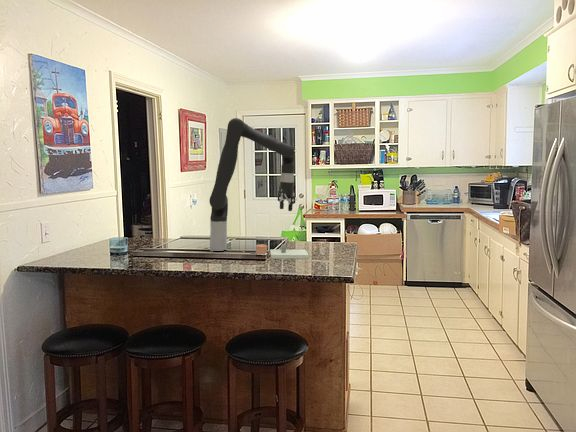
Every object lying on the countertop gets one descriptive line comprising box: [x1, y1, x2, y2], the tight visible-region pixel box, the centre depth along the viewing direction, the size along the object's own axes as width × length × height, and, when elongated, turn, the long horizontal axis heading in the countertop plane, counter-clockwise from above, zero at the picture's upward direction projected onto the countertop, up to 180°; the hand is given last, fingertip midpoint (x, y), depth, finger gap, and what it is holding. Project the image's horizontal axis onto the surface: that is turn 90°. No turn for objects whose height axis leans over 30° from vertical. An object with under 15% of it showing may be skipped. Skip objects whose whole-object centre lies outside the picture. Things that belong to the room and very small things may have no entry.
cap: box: [255, 243, 268, 255], centre depth 261 cm, size 6×6×6 cm
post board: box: [269, 243, 310, 260], centre depth 262 cm, size 20×14×6 cm
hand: (285, 210), depth 269 cm, fingers open, 8 cm apart
